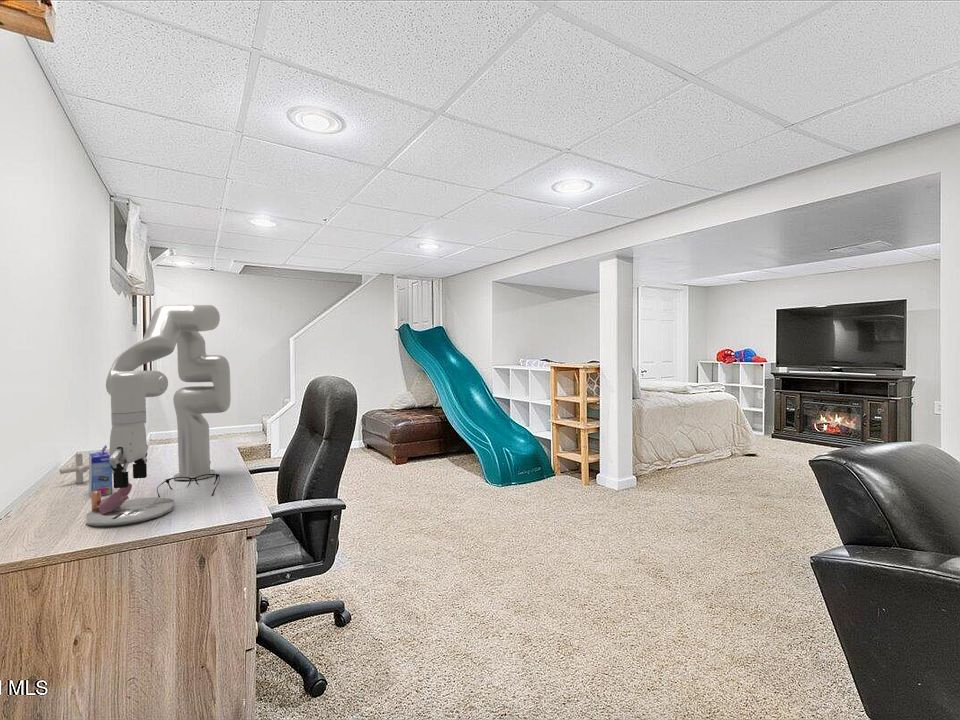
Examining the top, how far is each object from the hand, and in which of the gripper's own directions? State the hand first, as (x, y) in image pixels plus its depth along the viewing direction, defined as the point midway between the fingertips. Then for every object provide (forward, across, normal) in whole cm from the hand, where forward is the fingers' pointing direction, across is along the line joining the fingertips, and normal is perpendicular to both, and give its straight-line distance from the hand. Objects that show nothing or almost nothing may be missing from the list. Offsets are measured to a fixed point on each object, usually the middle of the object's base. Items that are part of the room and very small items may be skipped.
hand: (130, 482), depth 130 cm
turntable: (+9, 0, 0) cm, 9 cm away
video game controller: (+4, 0, -1) cm, 4 cm away
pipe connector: (+9, -42, -35) cm, 55 cm away
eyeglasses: (+10, -20, +7) cm, 23 cm away
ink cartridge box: (+9, -27, -21) cm, 35 cm away
